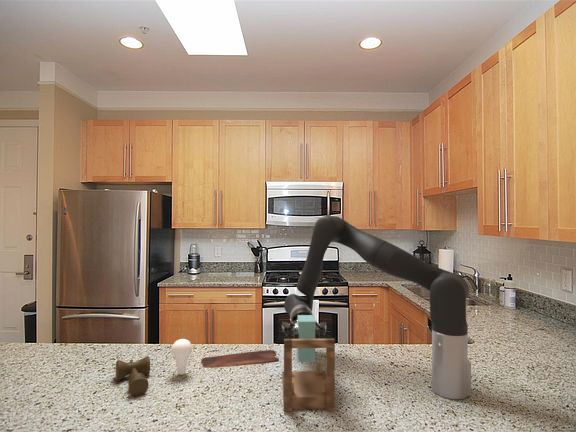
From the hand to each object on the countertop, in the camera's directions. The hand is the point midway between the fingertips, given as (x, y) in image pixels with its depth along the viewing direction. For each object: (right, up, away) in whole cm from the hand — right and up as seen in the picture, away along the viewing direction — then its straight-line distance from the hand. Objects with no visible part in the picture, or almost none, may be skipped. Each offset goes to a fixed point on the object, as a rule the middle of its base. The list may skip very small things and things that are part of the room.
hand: (307, 337), depth 93 cm
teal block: (0, -7, +3) cm, 7 cm away
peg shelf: (0, -17, +2) cm, 17 cm away
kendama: (-51, -17, +9) cm, 55 cm away
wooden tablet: (-22, -18, +26) cm, 38 cm away
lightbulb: (-39, -17, +14) cm, 44 cm away
